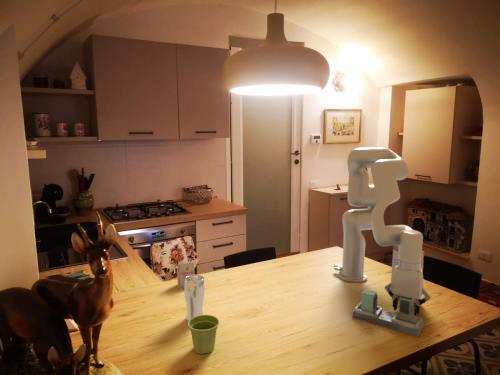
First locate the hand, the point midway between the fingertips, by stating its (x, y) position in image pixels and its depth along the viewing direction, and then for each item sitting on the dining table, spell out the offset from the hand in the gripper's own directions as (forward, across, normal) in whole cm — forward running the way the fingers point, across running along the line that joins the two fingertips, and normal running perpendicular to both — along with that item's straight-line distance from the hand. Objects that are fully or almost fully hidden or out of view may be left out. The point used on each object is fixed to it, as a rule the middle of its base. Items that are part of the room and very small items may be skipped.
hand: (405, 311), depth 136 cm
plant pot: (+1, -45, -59) cm, 74 cm away
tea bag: (+1, -83, -28) cm, 88 cm away
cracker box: (+1, -4, +17) cm, 18 cm away
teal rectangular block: (-1, -10, -10) cm, 15 cm away
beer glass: (+1, -60, -47) cm, 76 cm away
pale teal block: (+1, 0, 0) cm, 1 cm away
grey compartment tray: (+1, -4, -10) cm, 11 cm away
